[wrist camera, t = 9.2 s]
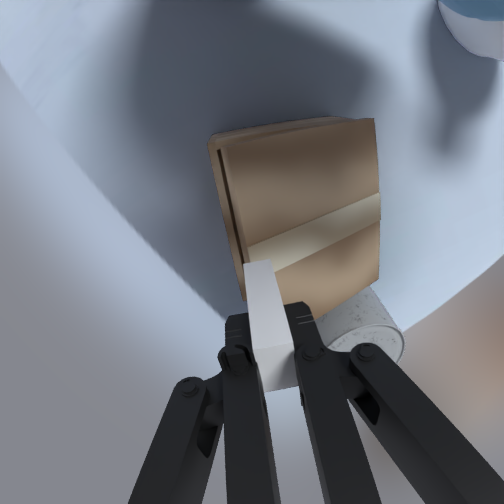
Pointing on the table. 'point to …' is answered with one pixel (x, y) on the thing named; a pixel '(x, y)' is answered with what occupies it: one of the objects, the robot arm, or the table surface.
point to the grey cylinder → (361, 326)
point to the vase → (475, 33)
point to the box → (222, 184)
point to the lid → (310, 209)
